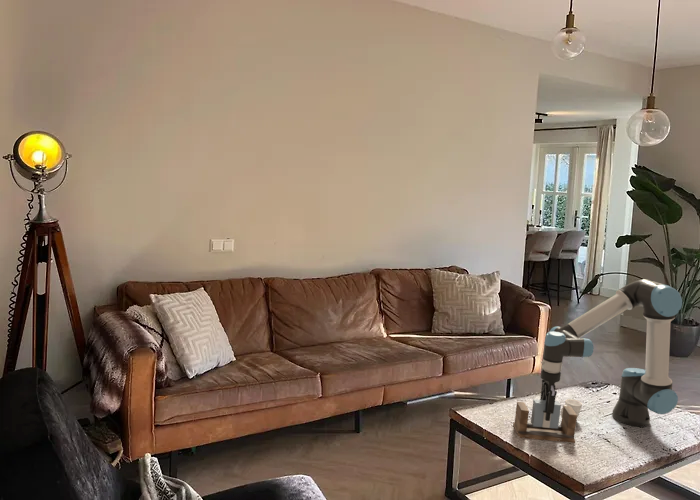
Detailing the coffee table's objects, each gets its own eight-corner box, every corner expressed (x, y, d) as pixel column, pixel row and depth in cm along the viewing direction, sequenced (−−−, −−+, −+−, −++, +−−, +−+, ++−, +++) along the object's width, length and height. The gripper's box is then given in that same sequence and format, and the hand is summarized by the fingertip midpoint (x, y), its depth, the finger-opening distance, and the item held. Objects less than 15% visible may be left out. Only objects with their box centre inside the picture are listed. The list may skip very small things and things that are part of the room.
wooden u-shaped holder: (566, 429, 247) (569, 404, 245) (575, 443, 235) (578, 417, 233) (513, 424, 248) (516, 399, 246) (519, 437, 236) (522, 411, 234)
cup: (583, 422, 255) (585, 404, 254) (566, 425, 251) (568, 407, 250) (571, 415, 261) (573, 398, 260) (554, 418, 257) (556, 400, 256)
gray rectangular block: (555, 424, 242) (558, 401, 241) (558, 428, 238) (560, 405, 237) (530, 422, 243) (533, 399, 241) (533, 426, 239) (535, 403, 238)
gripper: (536, 362, 246) (530, 414, 249) (547, 376, 229) (540, 433, 232) (554, 363, 245) (548, 416, 249) (566, 378, 228) (559, 435, 232)
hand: (544, 424), depth 241 cm, fingers closed on gray rectangular block, 4 cm apart
